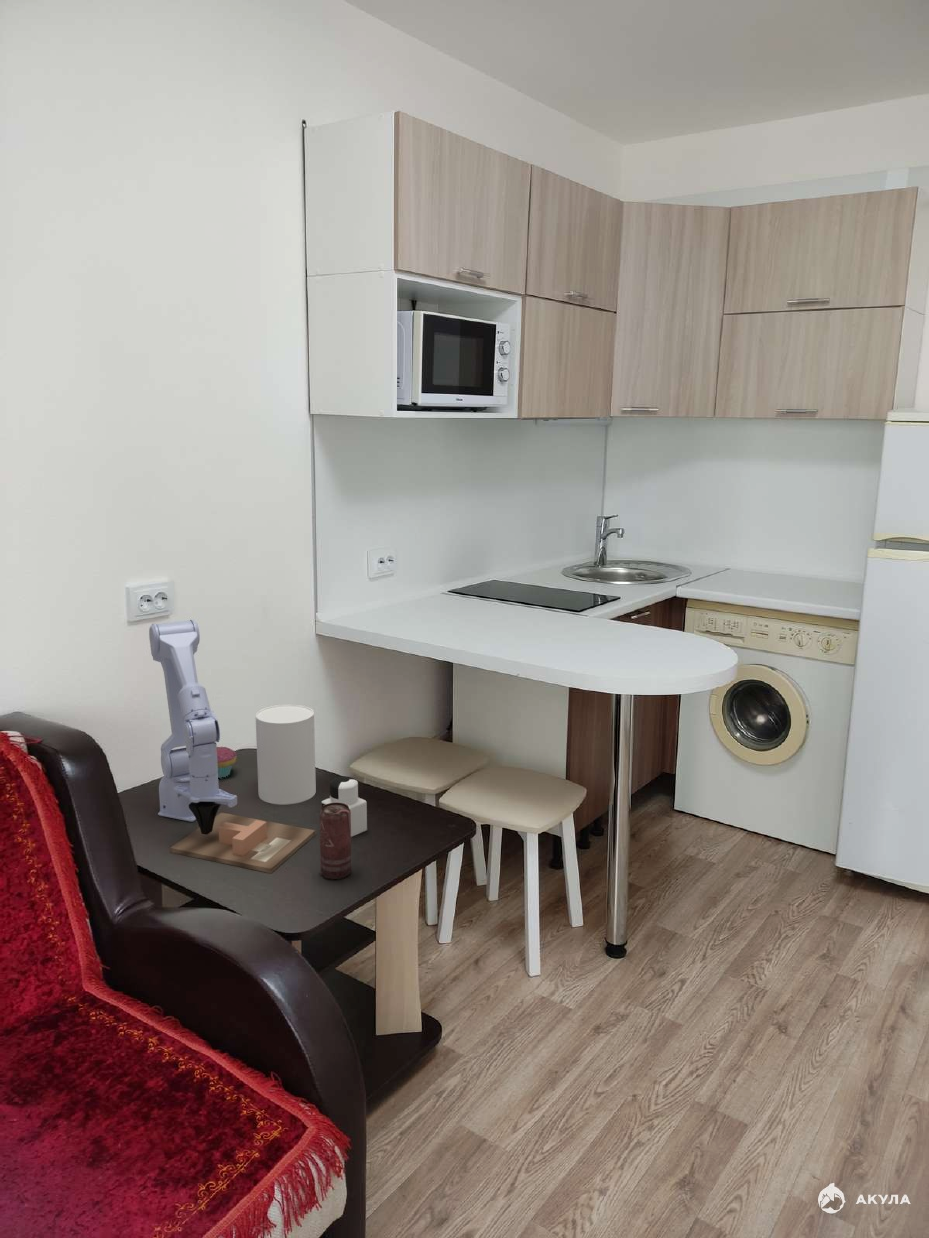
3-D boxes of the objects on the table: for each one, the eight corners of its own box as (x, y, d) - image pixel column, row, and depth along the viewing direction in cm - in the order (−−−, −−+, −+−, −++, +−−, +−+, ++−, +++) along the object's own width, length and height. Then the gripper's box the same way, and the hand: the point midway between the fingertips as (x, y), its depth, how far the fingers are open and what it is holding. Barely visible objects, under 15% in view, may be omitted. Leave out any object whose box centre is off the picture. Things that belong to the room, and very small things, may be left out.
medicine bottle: (321, 830, 198) (320, 779, 196) (346, 820, 203) (345, 770, 201) (342, 841, 194) (341, 789, 191) (367, 830, 199) (367, 779, 196)
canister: (246, 795, 215) (243, 716, 211) (285, 776, 227) (283, 700, 222) (289, 809, 209) (286, 727, 204) (327, 789, 220) (325, 711, 215)
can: (347, 882, 177) (346, 816, 174) (316, 878, 178) (314, 812, 175) (356, 867, 183) (356, 803, 180) (327, 863, 184) (325, 799, 181)
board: (170, 852, 188) (170, 847, 188) (221, 816, 204) (221, 812, 204) (271, 873, 180) (270, 868, 180) (315, 834, 196) (315, 830, 196)
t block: (210, 849, 187) (209, 833, 186) (234, 830, 195) (234, 815, 195) (243, 855, 185) (242, 840, 184) (267, 836, 193) (266, 821, 192)
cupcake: (196, 780, 224) (193, 734, 221) (211, 767, 232) (209, 722, 229) (229, 782, 222) (227, 737, 220) (243, 769, 231) (241, 725, 228)
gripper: (162, 774, 188) (166, 834, 191) (222, 784, 183) (225, 846, 186) (183, 762, 194) (187, 820, 197) (241, 772, 190) (244, 831, 193)
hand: (207, 832), depth 192 cm, fingers closed
